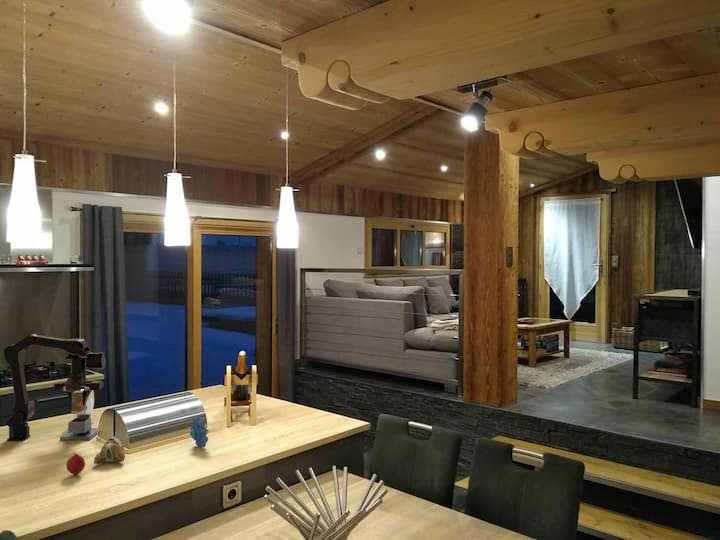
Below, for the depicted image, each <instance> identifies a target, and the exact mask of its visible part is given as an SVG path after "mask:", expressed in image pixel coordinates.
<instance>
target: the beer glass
mask: <svg viewBox="0 0 720 540" xmlns="http://www.w3.org/2000/svg"><path fill="white" fill-rule="evenodd" d="M83 390H84V389H80V390H79V391H83ZM94 391H95V390H92V391H91V393H90V395H89V397H88V399H87V402H86V412H85V413H91V425H93V424H94V421H93V410H94V406H95V405H94V404H95V392H94Z"/></svg>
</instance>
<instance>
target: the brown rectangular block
mask: <svg viewBox="0 0 720 540" xmlns="http://www.w3.org/2000/svg"><path fill="white" fill-rule="evenodd" d="M85 412H86V404H85V406H83V391H80V390H75V391H74V392H73V393H72V403H71V415H77V414H83V413H85Z"/></svg>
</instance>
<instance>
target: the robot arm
mask: <svg viewBox="0 0 720 540" xmlns="http://www.w3.org/2000/svg"><path fill="white" fill-rule="evenodd" d="M32 346H40V347H45V348H46V347H47V348H53V349H60V350H64V351H65V352H66V353H67V352H68V353H69V354H68V355H66V357H65V360H70V373H69V376H68V378H67V379H66V380H64V381H63V380H60V381H57V382H55V383H53V386H52V390H53V391H62V393H65V394H66V395H67V396H68V398H69V400H70V403H71V404H72V393H73V392H74V391H78V390H79V389H81V388H84V389H82V390H83V406H85V404H86V402H87V399H88V397H89V395H90V393H91V391H92V390H94V391H98V390H101V389H102V388H104V385H105V384H104V382H103V380H93V381H91V382H88V379H87V373H88V369H89V370H92V369H95V370H97V369H99V370H100V369H101V370H102V369H105V368H106V364H107V363H106V362H107V359H106V357H105V353H104V352H93V350H92V349H91V348H90V347H89V346H88V342H87V341H86V339H84V338H59V337H52V336H45V335H39V334H37V333H32V334H29V335H27V336H26V337H25V338H23V339H22V340H20V341H18V342H16V343H13V344H11V345H7V346H6V347H5V348H4V350H3V357H4V359H5V362H6V364H7V365H8V366H9V368H10V373H11V374H10V375H11V379H12V380H11V381H12V382H11V383H12V389H13V394H14V395H13V396H14V401H15V402H14V403H13V404H14V405H13V409H12V410H13V411H12V416H11V417H10V418H9V419H8V420H7V421H6V425H7V427H8V438H7V439H6V441H8V442H10V441H24V440H26V439H27V438H29V437H31V434H30V426H29V422H30V418H32V417H33V415H34V414H35V411H36V410H37V408H36V407H35V400H34V399H33V400H31V399H29V396H28V389H27V383H26V376H25V369H24V362H25V358H26V350H28V349H29V348H31V347H32ZM87 368H88V369H87Z"/></svg>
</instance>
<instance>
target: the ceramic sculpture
mask: <svg viewBox="0 0 720 540" xmlns="http://www.w3.org/2000/svg"><path fill="white" fill-rule="evenodd" d="M124 448H125V447H124V444H123V443H122V441H121V440H120V439H119V438H117V437H116V436H115V435H113V436H112V437H111V438H109V439H107V440H106V441H105V443H104V444H103V446H101V450H100V452H99V453H97V454H96V455H95V456H94V458H93V464H94V465H100V464H102V463H103V462H105V463H114V462H117V463H122V462H124V461H125V458H126V454H125V452H124V451H123V450H124Z"/></svg>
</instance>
